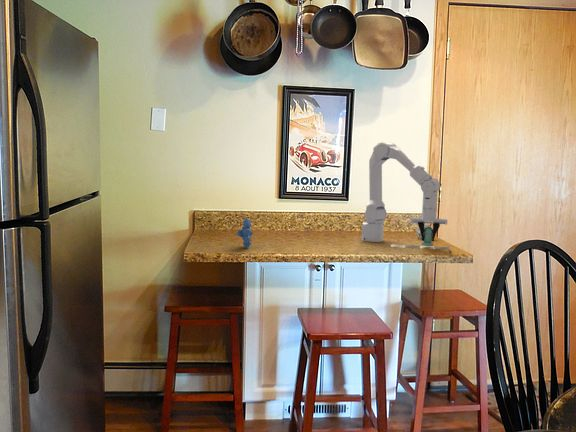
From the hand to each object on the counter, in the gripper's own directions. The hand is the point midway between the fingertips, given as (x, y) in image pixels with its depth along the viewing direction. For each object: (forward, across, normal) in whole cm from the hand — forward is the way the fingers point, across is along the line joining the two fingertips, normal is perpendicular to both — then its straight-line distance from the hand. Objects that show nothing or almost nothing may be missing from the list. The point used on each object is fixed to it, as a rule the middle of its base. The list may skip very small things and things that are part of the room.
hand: (427, 240), depth 220 cm
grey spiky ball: (+4, 0, +23) cm, 23 cm away
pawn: (+2, 0, 0) cm, 2 cm away
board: (+4, -3, 0) cm, 5 cm away
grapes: (+4, -74, -16) cm, 76 cm away
